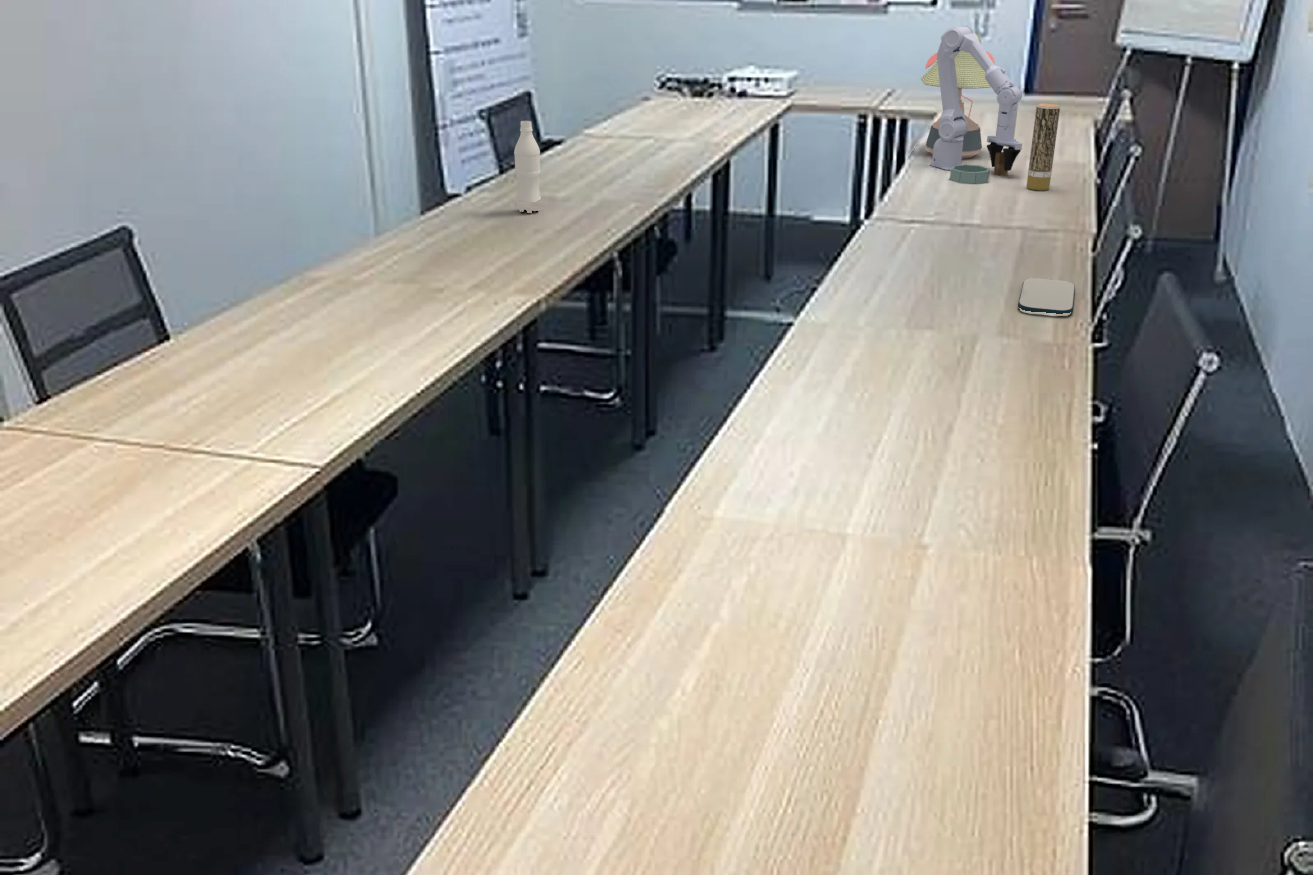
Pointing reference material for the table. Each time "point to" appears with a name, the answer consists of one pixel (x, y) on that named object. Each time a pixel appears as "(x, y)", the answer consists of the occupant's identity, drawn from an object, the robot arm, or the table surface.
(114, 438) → the table surface
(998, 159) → the wooden block
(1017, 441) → the table surface
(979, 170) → the bowl
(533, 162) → the water bottle
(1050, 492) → the table surface
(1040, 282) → the external hard drive
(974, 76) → the desk lamp
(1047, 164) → the bark patterned cylinder
